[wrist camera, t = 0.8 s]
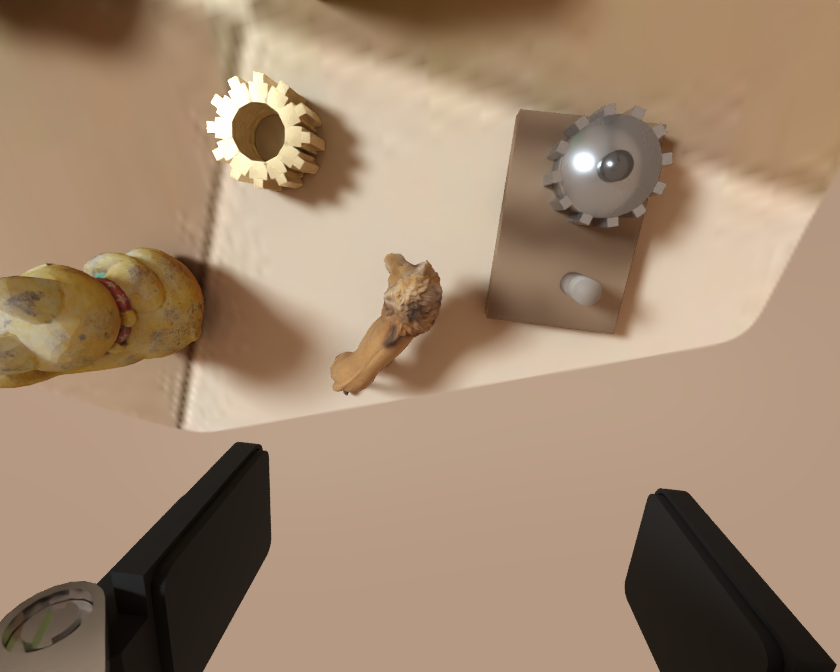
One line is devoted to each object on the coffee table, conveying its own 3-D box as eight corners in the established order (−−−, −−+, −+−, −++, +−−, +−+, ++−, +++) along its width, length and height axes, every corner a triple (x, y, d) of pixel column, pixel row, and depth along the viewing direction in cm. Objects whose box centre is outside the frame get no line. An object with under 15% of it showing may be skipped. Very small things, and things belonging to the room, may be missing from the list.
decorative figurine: (149, 229, 35) (-61, 237, 21) (238, 275, 36) (93, 314, 21) (119, 325, 38) (-85, 391, 23) (202, 367, 38) (51, 457, 24)
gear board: (516, 116, 31) (530, 92, 25) (653, 130, 30) (700, 110, 24) (484, 312, 35) (491, 331, 29) (604, 327, 34) (634, 349, 29)
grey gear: (539, 125, 29) (553, 110, 25) (650, 105, 28) (683, 87, 24) (546, 233, 31) (560, 235, 27) (650, 218, 30) (681, 218, 26)
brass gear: (231, 83, 31) (205, 67, 28) (327, 93, 31) (311, 78, 28) (233, 185, 34) (208, 182, 30) (322, 196, 33) (308, 193, 30)
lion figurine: (405, 236, 34) (388, 243, 25) (460, 271, 34) (462, 289, 26) (323, 377, 38) (284, 425, 29) (373, 407, 38) (350, 462, 30)
